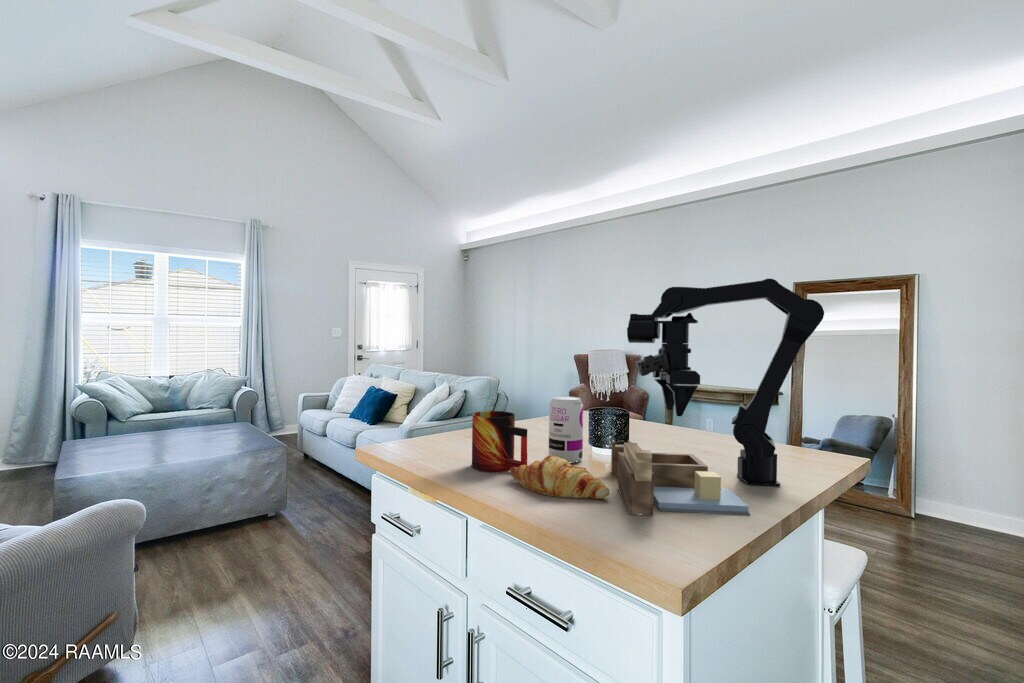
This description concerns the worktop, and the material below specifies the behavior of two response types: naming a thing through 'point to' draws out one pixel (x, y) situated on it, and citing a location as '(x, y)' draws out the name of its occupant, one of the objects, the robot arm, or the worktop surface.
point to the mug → (496, 441)
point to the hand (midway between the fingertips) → (673, 412)
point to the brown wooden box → (653, 477)
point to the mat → (703, 511)
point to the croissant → (559, 479)
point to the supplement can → (566, 428)
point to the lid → (700, 495)
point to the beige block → (638, 461)
